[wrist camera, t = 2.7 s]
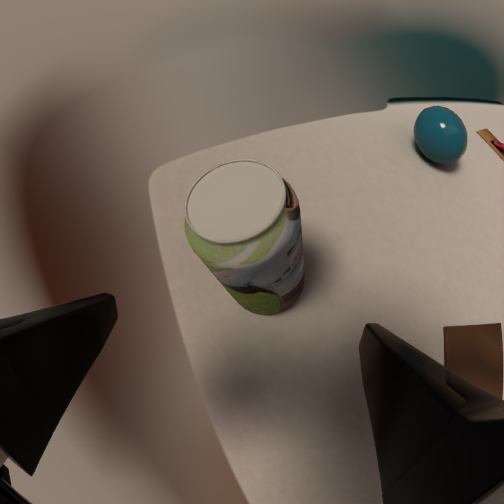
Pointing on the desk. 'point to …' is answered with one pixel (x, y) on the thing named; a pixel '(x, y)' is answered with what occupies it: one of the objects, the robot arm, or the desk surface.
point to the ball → (440, 135)
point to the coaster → (476, 355)
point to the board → (492, 142)
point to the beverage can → (248, 233)
